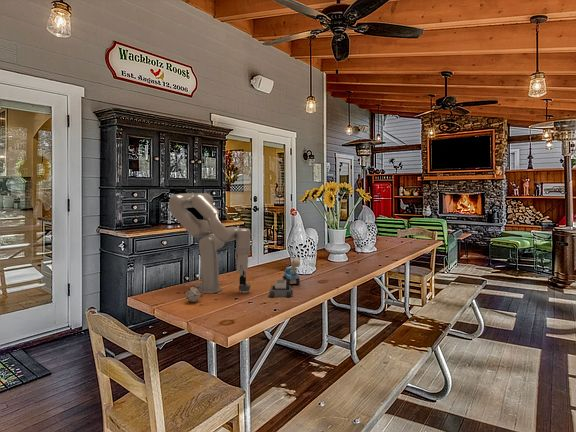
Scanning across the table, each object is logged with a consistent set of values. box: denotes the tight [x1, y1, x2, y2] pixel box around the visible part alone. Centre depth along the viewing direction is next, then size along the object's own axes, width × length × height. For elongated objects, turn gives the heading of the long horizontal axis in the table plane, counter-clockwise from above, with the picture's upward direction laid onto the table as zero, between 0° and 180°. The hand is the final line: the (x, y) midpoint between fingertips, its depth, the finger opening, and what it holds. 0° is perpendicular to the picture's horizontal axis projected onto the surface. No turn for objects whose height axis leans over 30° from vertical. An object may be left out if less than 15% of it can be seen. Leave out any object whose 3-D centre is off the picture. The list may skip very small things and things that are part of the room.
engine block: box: [274, 279, 286, 290], centre depth 204 cm, size 6×5×6 cm
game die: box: [183, 285, 203, 304], centre depth 191 cm, size 9×8×10 cm
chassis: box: [267, 284, 294, 298], centre depth 205 cm, size 13×13×3 cm
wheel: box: [238, 283, 251, 291], centre depth 207 cm, size 6×6×2 cm
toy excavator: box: [281, 257, 301, 285], centre depth 222 cm, size 9×17×17 cm, turn 15°
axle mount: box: [239, 290, 250, 295], centre depth 207 cm, size 5×5×4 cm
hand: (242, 283), depth 205 cm, fingers closed
